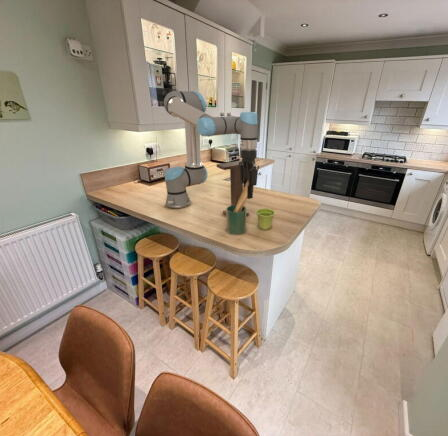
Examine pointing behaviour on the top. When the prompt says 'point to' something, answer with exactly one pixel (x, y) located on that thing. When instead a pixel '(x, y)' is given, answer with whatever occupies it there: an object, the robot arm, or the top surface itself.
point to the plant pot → (265, 218)
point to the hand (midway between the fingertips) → (248, 197)
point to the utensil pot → (236, 220)
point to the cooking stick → (242, 199)
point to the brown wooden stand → (233, 181)
